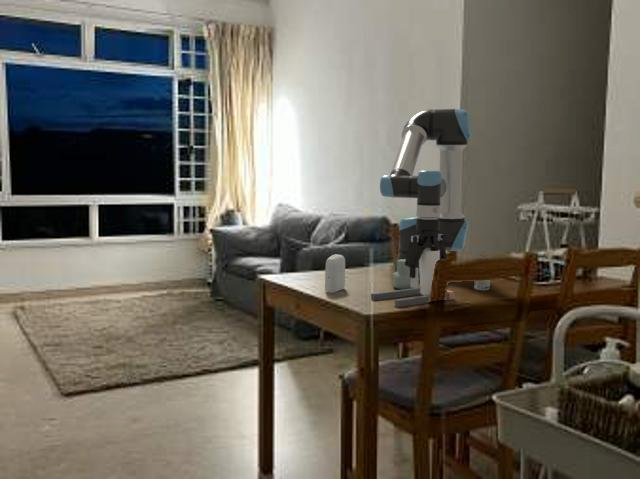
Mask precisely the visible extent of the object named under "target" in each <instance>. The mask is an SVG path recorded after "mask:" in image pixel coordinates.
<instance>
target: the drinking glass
mask: <svg viewBox="0 0 640 479" xmlns="http://www.w3.org/2000/svg"><path fill="white" fill-rule="evenodd" d="M438 250H439V249H438ZM438 260H440V250H439V251H431V249H430V248H426V249H425V250H424V251H423V253H422V255H421V258H420V260H419V273H420V277H419V288H420V294H419V295H421V296H427V295H430V291H431V285H432V280H433V274H434V268H435V264H436V262H437V261H438Z"/></svg>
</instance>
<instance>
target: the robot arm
mask: <svg viewBox="0 0 640 479" xmlns="http://www.w3.org/2000/svg"><path fill="white" fill-rule="evenodd" d="M471 120H472V119H471V116H470V112H469V111H468V110H467V109H463V108H462V109H461V108H448V109H444V108H443V109H439V108H438V109H436V108H435V109H432V108H431V109H426V110H422V111H420V112H418V113H416V114H415V115H413V116H412V117H411V118H409V120H407V122H406V124H405V125H404V126H403V128H402V132H401V139H402V140H401V143H400V145H399V147H398V152H397V154H396V157H395V159H394V162H393V165H392V169H391V171H390V174H387V175H386V174H385V175H382V176H381V178H380V181H379V182H380V183H379V191H380V195H381V196H382V197H385V198H392V199H393V198H398V199H399V198H400V199H401V198H403V199H404V198H407V199H409V198H411V199H416V216H410V217H403V218H401V219H400V222H399V228H398V256H397V258H396V261H395V265H394V267H393V273H395V272H397V261H398V260H400V259H406V261H405V266H408V267H410V278H411V285H410V287H412V288H419V285H418V277H419V278H420V273H419V260H420V258H421V255H422V253H423V251H424V250H425V249H426V248H430V249H431V251H439V250H440V260H441V259H447V260H448V257H447V251H450V252H452V251H454V252H455V251H458V252H459V251H462V250H463V249H464V247H465V246H466V242H467V237H468V232H469V221H468V220H465V219H466V218H465V217H466V216H465V215H464V213H462V190H463V188H462V186H463V160H464V159H463V156H464V149H465V148H466V147H468V142H469V141H471V140H472V139H473V130H472V128H473V127H472V121H471ZM427 141H435V146H436V147H437V148H438V149H439V170H420V171H418V174H417V175H414V172H415V168H416V166H417V162H418V158H419V156H420V152H421V149H422V146H423V145H424V144H425V143H426V142H427ZM438 249H439V250H438Z"/></svg>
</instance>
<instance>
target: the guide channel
mask: <svg viewBox="0 0 640 479" xmlns="http://www.w3.org/2000/svg"><path fill="white" fill-rule="evenodd" d="M446 290H447V294H446V299H447V300H446V301H452V300H454V298H455V296H454V295H455V291H453V290H449V289H446ZM370 295H371V296H370V299H371V300H372V301H378V300H379V301H380V300H387V299H388V300H389V299H395V298H397V299H395V300H394V307H396V308H402V307H408V306H417V305H423V304H429V303H428V301H429V297H430V295H427V296H425V295H421V294H420V287H418V288H411V289H396V290H389V291H381V292H372V293H371V294H370ZM417 295H418V296H417ZM419 295H420V296H419ZM410 296H411V297H410ZM412 296H413V297H412ZM401 297H406V298H401ZM407 297H408V298H407ZM398 298H400V299H398Z"/></svg>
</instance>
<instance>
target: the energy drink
mask: <svg viewBox="0 0 640 479" xmlns="http://www.w3.org/2000/svg"><path fill="white" fill-rule="evenodd" d="M485 257H491V255H488V254H476V256H475V259H477V258H485ZM491 258H492V257H491ZM473 284H474V285H473V289H474V290H476V291H486V292H487V291H489V290H490V288H491V287H490V286H491V279H490V280H484V281H475V280H474V283H473Z"/></svg>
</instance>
